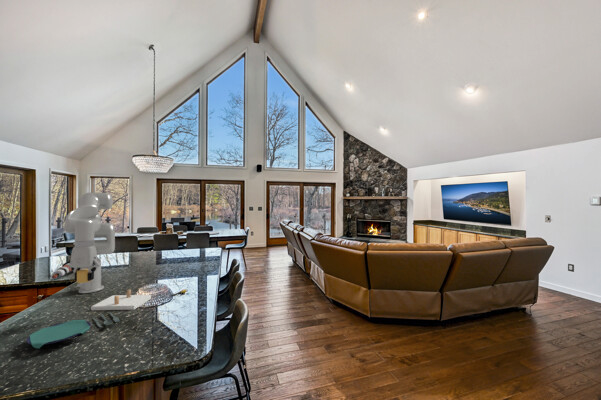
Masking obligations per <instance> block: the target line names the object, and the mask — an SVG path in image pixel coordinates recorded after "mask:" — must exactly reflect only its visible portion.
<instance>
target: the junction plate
mask: <svg viewBox="0 0 601 400" xmlns="http://www.w3.org/2000/svg"><path fill="white" fill-rule="evenodd" d="M151 299H152V294H132V289H126V294H125V295H124V294H121V295H120V294H119V295H117V294H116V295H111V296H109V297H107V298H105V299H103V300H101V301H99V302H97V303H95V304H93V305H92V306H90V310H91V311H120V310H121V311H123V310H126V311H128V310H136V309H137V308H139V307H140V306H142V305H143V304H144V303H146V302H147V301H149V300H151Z"/></svg>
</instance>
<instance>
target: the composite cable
mask: <svg viewBox="0 0 601 400" xmlns="http://www.w3.org/2000/svg"><path fill="white" fill-rule="evenodd" d="M188 291H189V290H188V289H187V288H184V289H181V290H180V291H179V292H176V293H173V294H171V295H170V297H172V298H173V297H176V296H178V295H181V293H184V294H186V293H187V292H188ZM185 292H186V293H185ZM177 294H178V295H177Z"/></svg>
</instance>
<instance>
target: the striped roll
mask: <svg viewBox="0 0 601 400" xmlns="http://www.w3.org/2000/svg"><path fill="white" fill-rule="evenodd" d="M70 262H71V259H69V260H68V261H66V262H64V263H63V264H62V265H61V267H59V268H58V269H57V270H54V271H53V272H52V276H51V278H52V279H56V278H57V277H60V276H62V277H63V276H64V275H66V274H68V273H70V272H73V270H72V269H71V268H70V267H69V266H68V265H69V264H70Z"/></svg>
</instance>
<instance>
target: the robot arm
mask: <svg viewBox="0 0 601 400" xmlns="http://www.w3.org/2000/svg"><path fill="white" fill-rule="evenodd" d="M113 203H114V201H113V197H112V195H111V194H110V193H109V192H85V193H84V194H82V195H81V196H79V198H78V199H77V205H78V207H77V208H75V209H73V210H71V211H70V212H68V213H67V215H66V217H65V221H64V225H63V226H64V231H65V232H66V233H67V234H70V235H71V234H73V235H74V242H72V243H73V244H72V245H74V247H72V249H71V255H70V260H71V262H70V264H69V265H68V266H69V267H70V268H71V269H72V272H73V274H74V281H75V282H77V271H78V270H81V269H88V271H89V273H88V281H89V282H85V283H77V284H76V286H75V288H79V289H78V293H79V294H90V293H96V292H99V291H101V290H103V289H105V285H103V284H102V261H101V259H100V257H98V256H100V255H101V256H102V255H109V254H113V253H114V252H115V248H116V238H115V237H116V236H115V235H116V230H115V226H114V224H113V223H112V222H101V221H102V220H101V217H102V216H101V214H100V213H99V210H110V209H112V207H113V205H114V204H113ZM102 238H105V239H102ZM90 280H92V281H90Z"/></svg>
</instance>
